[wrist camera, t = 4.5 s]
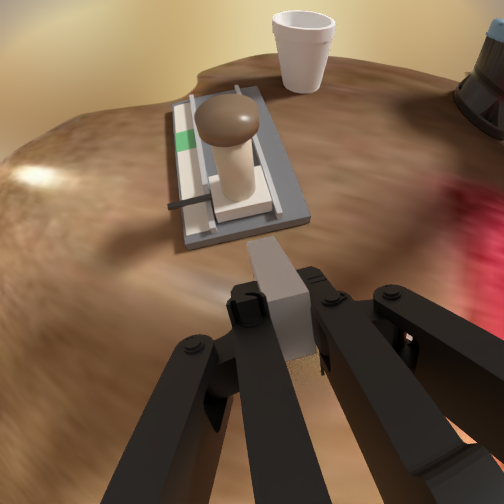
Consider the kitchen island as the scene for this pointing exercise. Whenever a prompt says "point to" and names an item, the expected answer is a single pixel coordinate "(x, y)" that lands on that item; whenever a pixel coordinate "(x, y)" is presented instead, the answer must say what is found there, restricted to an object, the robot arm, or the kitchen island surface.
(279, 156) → the board
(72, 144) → the kitchen island surface
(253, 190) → the tuning slider
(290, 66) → the foam cup
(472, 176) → the kitchen island surface
